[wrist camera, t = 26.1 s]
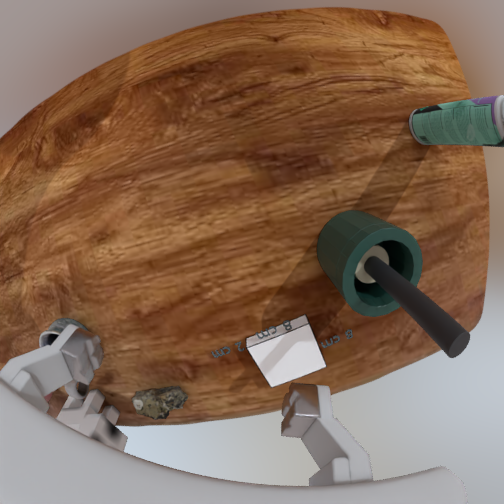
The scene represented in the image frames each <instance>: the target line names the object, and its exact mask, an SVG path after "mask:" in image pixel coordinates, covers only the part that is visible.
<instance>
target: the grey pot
mask: <svg viewBox="0 0 504 504" xmlns="http://www.w3.org/2000/svg"><path fill="white" fill-rule="evenodd" d="M70 324H73V325H75V326H77V327H80V328H82V329H84V330H86V331H88V330H87V329H86V328H85V326H83V325H82V324H80V323H79V322H77V321H75V320H73V319H69V318H61V319H58V320H55V321H54V322H53V323H52V324H51V326H50V327H49V329H48V330H46V331H44V332H43V333H42V334H41V335H40V338H39V344H40V348H41V347H44V346H47V345H50V346H51V345H52V343H53V342H54V341H55V340H56V339H57V337H58V336H59V335H60V334H61V333H62V332H63V330H64V329H65V328H66V327H67V326H68V325H70ZM78 382H79V381H77V380H75V379H73V380H72V381H70V382H68V383H67V384H65V385H64V387H65V390H66V392H67V393H68V394H69V395H70V396H71V397H73V398H75V399H83V398H85V397H86V396H87V394H88V391H89V385H86V384H84V383H82V382H79V386H78V390H77V387H76V386H77V383H78Z"/></svg>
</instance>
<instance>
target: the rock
mask: <svg viewBox="0 0 504 504" xmlns="http://www.w3.org/2000/svg"><path fill="white" fill-rule="evenodd" d="M187 399H188V396H187V394H186V393H184V392H183V391H182V390H181V388H180V387H179V386H176V387H173V386H171V387H167V388H166V387H165V388H162V389H151V390H149V391H138V392H136V395H135V396H134V397H133V398H132V403H133V404H134V407H135V408H136V412H137V414H140V415H145V416H147V417H151V418H153V419H154V420H156V419H166V417H167V416H168V415H169V411H171V410H173V409H180V408H183V404H184V402H185V401H186V400H187Z"/></svg>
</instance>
